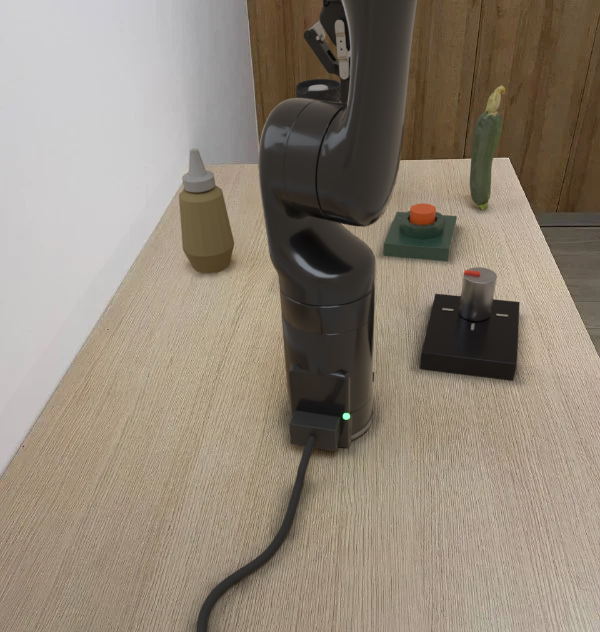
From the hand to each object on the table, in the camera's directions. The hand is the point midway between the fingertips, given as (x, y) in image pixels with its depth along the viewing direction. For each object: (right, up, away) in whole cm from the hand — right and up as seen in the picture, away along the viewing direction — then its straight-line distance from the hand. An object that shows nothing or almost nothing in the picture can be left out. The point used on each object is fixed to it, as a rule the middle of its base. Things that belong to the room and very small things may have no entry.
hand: (352, 107), depth 87 cm
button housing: (+13, -14, +17) cm, 25 cm away
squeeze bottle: (-21, -18, +15) cm, 32 cm away
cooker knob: (+15, -28, -4) cm, 33 cm away
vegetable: (+24, -6, +26) cm, 36 cm away
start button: (+12, -11, +15) cm, 22 cm away
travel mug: (-3, -3, +32) cm, 32 cm away
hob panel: (+15, -32, -5) cm, 36 cm away
